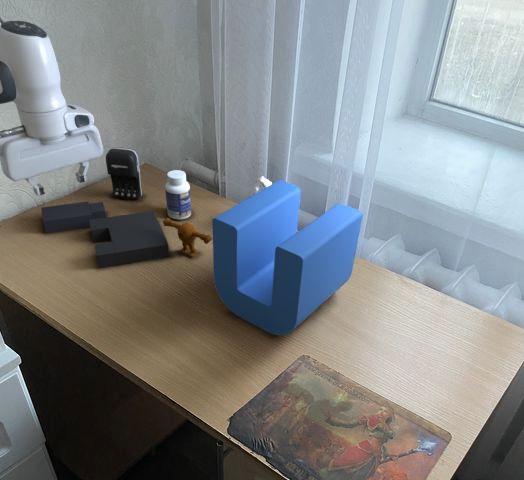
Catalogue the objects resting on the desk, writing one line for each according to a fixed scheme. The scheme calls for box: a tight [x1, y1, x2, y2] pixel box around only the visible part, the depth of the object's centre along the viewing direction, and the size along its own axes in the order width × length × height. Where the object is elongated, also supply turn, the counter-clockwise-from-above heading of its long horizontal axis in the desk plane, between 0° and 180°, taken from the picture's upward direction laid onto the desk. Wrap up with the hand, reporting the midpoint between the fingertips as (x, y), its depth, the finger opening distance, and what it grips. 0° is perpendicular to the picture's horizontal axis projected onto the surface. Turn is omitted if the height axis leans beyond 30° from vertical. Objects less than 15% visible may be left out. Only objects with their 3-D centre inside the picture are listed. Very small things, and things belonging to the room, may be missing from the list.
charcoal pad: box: [40, 200, 108, 234], centre depth 117 cm, size 13×6×3 cm, turn 110°
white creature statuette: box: [252, 175, 273, 195], centre depth 115 cm, size 10×9×12 cm
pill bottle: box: [164, 169, 192, 221], centre depth 119 cm, size 5×5×10 cm
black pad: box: [88, 210, 170, 269], centre depth 111 cm, size 14×14×3 cm
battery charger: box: [105, 146, 143, 201], centre depth 123 cm, size 7×4×11 cm, turn 82°
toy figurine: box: [162, 217, 213, 258], centre depth 108 cm, size 12×4×7 cm, turn 56°
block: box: [211, 179, 364, 336], centre depth 95 cm, size 18×18×18 cm
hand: (61, 187), depth 112 cm, fingers open, 8 cm apart
